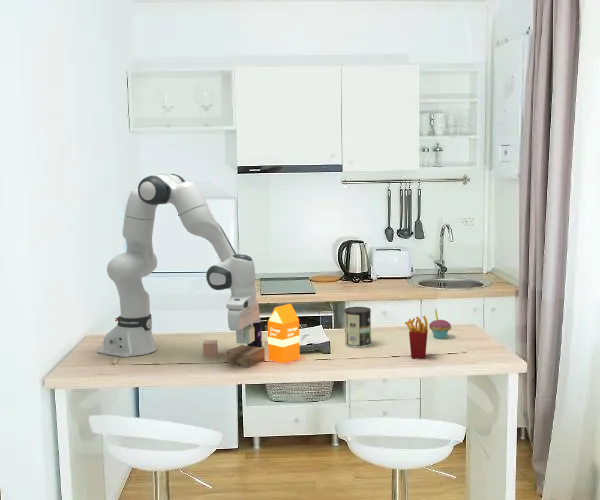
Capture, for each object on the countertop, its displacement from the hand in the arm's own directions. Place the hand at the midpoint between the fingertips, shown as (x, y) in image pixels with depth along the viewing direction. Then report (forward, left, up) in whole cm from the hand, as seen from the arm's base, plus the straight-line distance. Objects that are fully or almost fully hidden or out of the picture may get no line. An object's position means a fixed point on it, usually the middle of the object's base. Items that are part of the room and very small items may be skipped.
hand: (245, 337), depth 277 cm
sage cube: (0, 0, -2) cm, 2 cm away
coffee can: (+33, +34, -10) cm, 48 cm away
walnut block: (0, 0, -10) cm, 10 cm away
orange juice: (+12, +8, -10) cm, 17 cm away
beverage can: (-4, +18, -10) cm, 21 cm away
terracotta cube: (-17, +6, -10) cm, 20 cm away
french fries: (+58, +24, -10) cm, 63 cm away
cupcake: (+62, +53, -10) cm, 82 cm away
